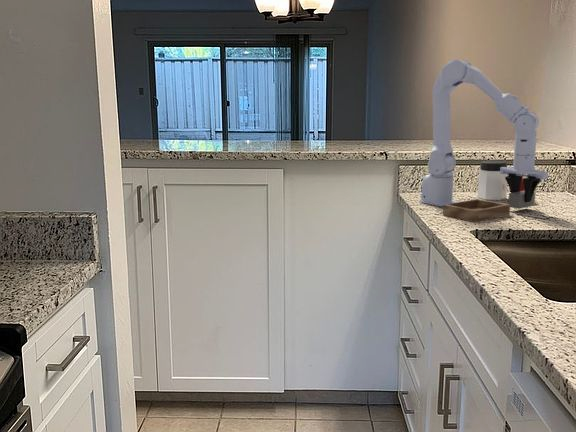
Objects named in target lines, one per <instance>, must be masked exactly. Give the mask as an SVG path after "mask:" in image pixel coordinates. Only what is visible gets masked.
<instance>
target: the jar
mask: <svg viewBox="0 0 576 432" xmlns="http://www.w3.org/2000/svg"><path fill="white" fill-rule="evenodd" d="M501 167H508V162H507V161H505V160H493V159H492V160H489V159H487V160H481V161H480V169H478V182H477V183H478V184H477V199H480V200H486V201H501V200H506V199H507V195H508V194H507V193H508V192H507V191H508V183H507V181H506V179H505V177H507V176H508V174H500V168H501Z"/></svg>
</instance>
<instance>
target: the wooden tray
mask: <svg viewBox="0 0 576 432" xmlns="http://www.w3.org/2000/svg"><path fill="white" fill-rule="evenodd" d="M456 202H457V203H451V204H446V205H444V206H443V208H442V209H443V211H442V212H443V214H442V215H443V216H447V217H451V218H454V219H455V218H456V219H459V220H460V219H461V220H465V221H469V222H475V223H477V222H483V220H484V221H488V220H491V219H492V220H493V219H497V218H502V217H507V216H510V215H511V214H510V213H511V207H510V205H509V204H508V203H502V202H497V201H493V200H484V199H481V198H475V199H469V200H463V201H456ZM487 219H488V220H487Z"/></svg>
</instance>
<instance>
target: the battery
mask: <svg viewBox="0 0 576 432" xmlns="http://www.w3.org/2000/svg"><path fill="white" fill-rule="evenodd" d="M524 193H525V191H520V192H514V193H511V192H510V193H509V194H508V202H507V204H509V205H510V208H513V209H517V210H519V209H524V208H525V209H526V208H528V207H529V208H530V207H534V206H535V204H536V193H537V192H535V191H534V193H533V196H532V199H531V202H525V201H524Z"/></svg>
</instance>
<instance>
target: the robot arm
mask: <svg viewBox="0 0 576 432" xmlns="http://www.w3.org/2000/svg"><path fill="white" fill-rule="evenodd" d="M463 83H465V84H466V83H467V84H469V85H470V84H471V85H474V86H476V87H477V88H478V89H480V91H482V92H483V93H484V94H485V95H487V97H489V98H490V99H491V100H492V101H493V102H494V103H495V105H494V106H495V107H494V109H496V111H497V112H499V113H500V115H502V116H503V117H504V118H505V119H506V120H507V121H508V122H509V123H511V124H513V128H514V130H515V137H514V138H515V139H514V151H513V164H512V166H513V167H510V166H509V167H508V166H507V167H501V168H500V174H508V176H507V177H505V179H506V181H507V186H508V187H509V191H510V193H514V192H519V191H520V184H521V181H522V178H523V182H524V189H525V193H524V201H525V202H531V199H532V196H533V193H534V192H535V191H536V189H537V187H538V185H539V184H540V183H541V181H542V180H548V178H549V171H543V170H538V169H535V163H536V162H535V161H536V149H537V128H538V127H539V124H540V119H539V117H538V115H537V114H536V112H533V111H531V109H530V107H529V106H527V107H526V106H525V105H524V104H522V102H520V101H519V99H518V98H519V97H518V96H517V94H513V95H512V93H508V92H507V93H504V92H502V91H501V90H500V88H499V87H497V86H496V85H495V84H494V82H492V81H491V80H490V79H489V77H487V75H485V74H484V73H483V72H482V71H481V69H479V68H477V67H476V66H474V65H472V63H471V62H469V61H468V60H459V59H452V60H449V61H448V62H447V63H445V64H444V65H443V66H442V67H441V69H440V72H439V74H438V77H437V78H436V80H435V82H434V84H433V86H432V130H433V132H432V133H433V134H432V136H433V138H432V140H433V141H432V142H433V146H432V148H431V150H430V153H429V154H430V155H429V156H430V157H429V160H428V162H427V170H428V172H429V174H426V175H425V176H424V177H423V179H422V181H421V195H420V197H421V199H420V200H419V203H421V204H422V203H423V204H427V205H433V206H437V207H444V205H446V204H451V203H457V202H458V201H453V194H454V193H453V192H454V191H453V190H454V173H453V170H455V168H456V164H457V160H456V158H455V156H454V149H453V147H452V145H451V93H452V92H453V91H454V90H455V89H456V88H457V87H459V85H461V84H463ZM524 177H525V178H524Z"/></svg>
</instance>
